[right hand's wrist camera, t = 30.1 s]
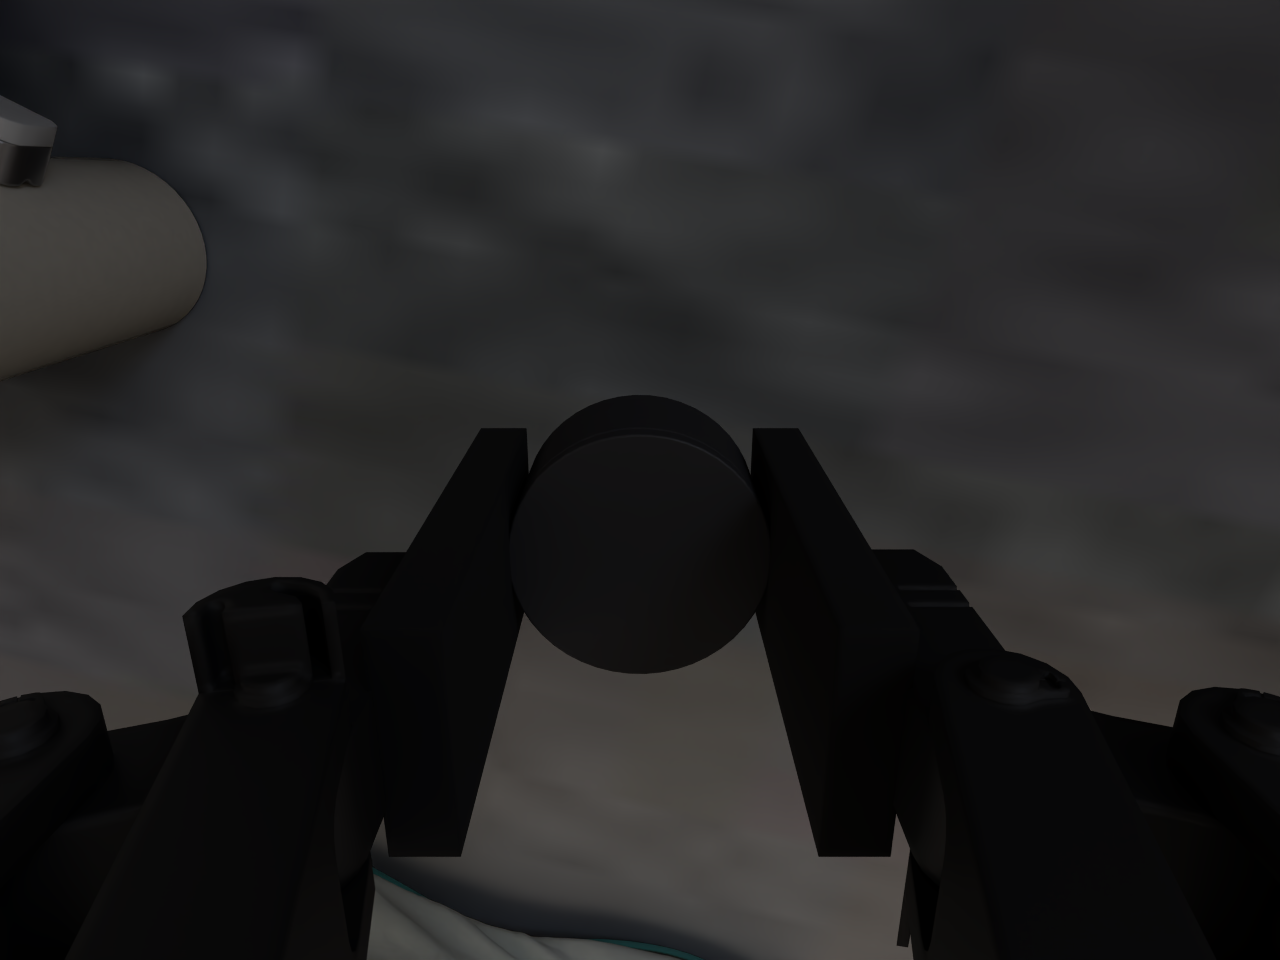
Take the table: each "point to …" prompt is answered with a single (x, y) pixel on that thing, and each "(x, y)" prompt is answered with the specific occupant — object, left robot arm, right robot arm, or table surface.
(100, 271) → the ridged cream cylinder
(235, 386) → the table surface
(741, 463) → the cap
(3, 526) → the table surface
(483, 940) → the ballet flat
